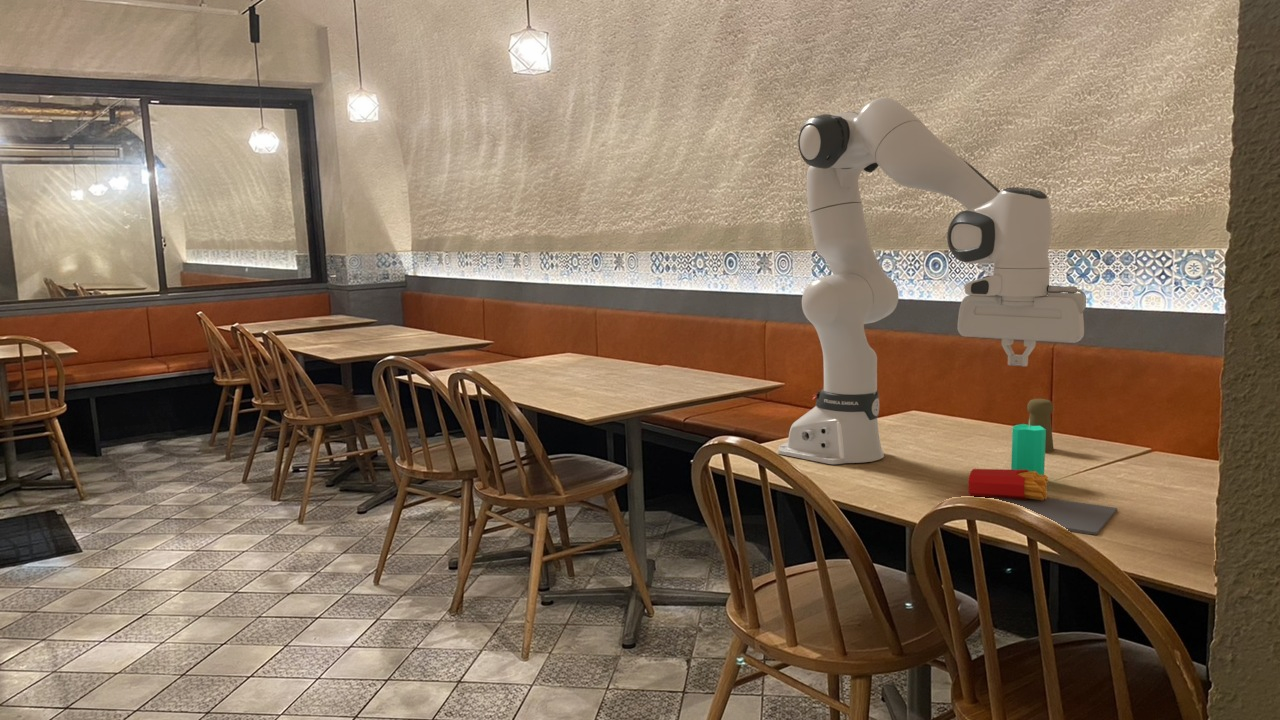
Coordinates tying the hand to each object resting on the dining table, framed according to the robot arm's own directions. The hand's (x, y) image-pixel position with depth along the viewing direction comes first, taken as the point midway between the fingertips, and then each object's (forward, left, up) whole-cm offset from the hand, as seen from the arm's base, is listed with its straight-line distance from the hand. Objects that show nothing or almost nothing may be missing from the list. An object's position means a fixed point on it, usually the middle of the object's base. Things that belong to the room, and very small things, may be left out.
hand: (1017, 365), depth 170 cm
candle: (-3, +19, -25) cm, 32 cm away
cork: (-8, +47, -25) cm, 54 cm away
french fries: (-9, +5, -23) cm, 25 cm away
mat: (+5, -1, -25) cm, 26 cm away
